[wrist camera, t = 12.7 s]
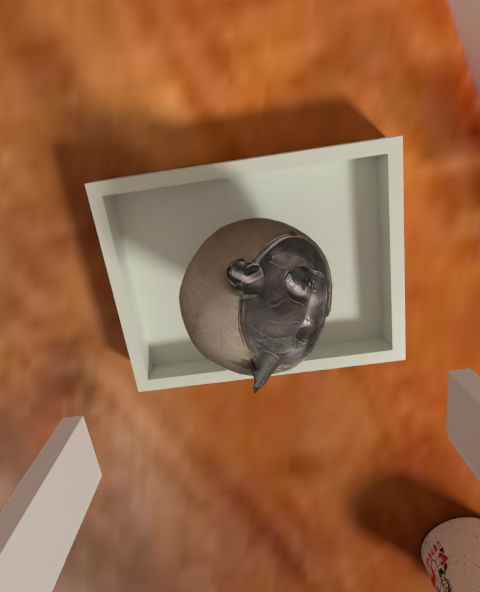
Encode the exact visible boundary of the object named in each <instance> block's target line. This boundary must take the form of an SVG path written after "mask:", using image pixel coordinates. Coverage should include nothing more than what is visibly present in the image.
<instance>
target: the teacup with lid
mask: <svg viewBox="0 0 480 592" xmlns="http://www.w3.org/2000/svg"><path fill="white" fill-rule="evenodd" d="M421 556H422V560H423V562H424V565H425V567H426V569H427V572H428V574H429V576H430V579H431V581H432V583H433V586H434V588H435V590H436V592H480V519H479V518H474V517H461V518H455V519H451V520H448V521H446V522H444V523H441V524H440V525H438V526H437V527H435V528H434V529H433V530H432V531H430V532H429V534H428V535H427V536H426V538H425V539H424V542H423V544H422V548H421Z"/></svg>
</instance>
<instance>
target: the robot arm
mask: <svg viewBox="0 0 480 592" xmlns="http://www.w3.org/2000/svg"><path fill="white" fill-rule="evenodd" d="M447 437H448V439H449V440H450V441H451V443H452V444H453V446H454V447H455V448H456V450H457V451H458V453H459V454H460V455H461V457H462V458H463V460H464V461H465V462H466V464H467V465H468V467H469V468H470V469H471V471H472V472H473V474H474V475H475V476H476V478H477V479H478V481H479V482H480V377H479V376H478V375H477V374H476V373H475V372H474V371H473V370H472V369H471V368H468V369H460V370H452V371H448V401H447ZM101 477H102V474H101V471H100V468H99V465H98V461H97V458H96V455H95V452H94V449H93V446H92V442H91V439H90V436H89V433H88V430H87V427H86V423H85V420H84V417H83V416H75V417H67V418H62V420H61V421H60V423H59V424H58V426H57V427H56V429H55V430H54V432H53V433H52V435H51V436H50V438H49V439H48V441H47V442H46V444H45V445H44V447H43V448H42V450H41V451H40V453H39V454H38V456H37V457H36V459H35V460H34V462H33V463H32V465H31V466H30V468H29V469H28V471H27V472H26V474H25V475H24V477H23V478H22V480H21V481H20V483H19V484H18V486H17V487H16V489H15V490H14V492H13V493H12V495H11V496H10V498H9V499H8V501H7V502H6V504H5V505H4V507H3V508H2V510H1V511H0V592H52V591H53V588H54V586H55V584H56V581H57V579H58V577H59V574H60V572H61V570H62V567H63V565H64V563H65V560H66V558H67V556H68V553H69V551H70V549H71V546H72V544H73V542H74V539H75V537H76V535H77V532H78V530H79V528H80V525H81V523H82V521H83V518H84V516H85V514H86V511H87V509H88V507H89V504H90V502H91V500H92V497H93V495H94V493H95V491H96V488H97V486H98V484H99V481H100V479H101Z"/></svg>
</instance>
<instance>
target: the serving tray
mask: <svg viewBox="0 0 480 592" xmlns="http://www.w3.org/2000/svg"><path fill="white" fill-rule="evenodd" d="M85 188H86V192H87V195H88V199H89V203H90V207H91V211H92V215H93V218H94V222H95V226H96V230H97V234H98V238H99V242H100V245H101V249H102V253H103V257H104V261H105V265H106V268H107V272H108V276H109V280H110V284H111V288H112V291H113V295H114V299H115V303H116V307H117V311H118V315H119V318H120V322H121V326H122V330H123V334H124V338H125V341H126V345H127V349H128V353H129V357H130V361H131V364H132V368H133V372H134V376H135V380H136V384H137V388H138V391H139V392H142V391H150V390H159V389H167V388H175V387H183V386H192V385H200V384H208V383H216V382H225V381H233V380H241V379H250V378H254V377H253V376H249V375H243V374H238V373H236V372H233V371H230V370H228V369H226V368H224V367H222V366H220V365H218V364H216V363H214V362H213V361H211V360H209V359H208V358H206V357H205V356H203V355H202V354H201V353H200V352H199V351H198V350H197V348H196V347H195V345H194V344H193V343H192V341H191V339H190V337H189V335H188V333H187V331H186V328H185V325H184V322H183V319H182V315H181V310H180V303H179V293H180V287H181V284H182V280H183V277H184V274H185V272H186V269H187V267H188V265H189V263H190V261H191V260H192V258H193V256H194V255H195V253H196V252H197V251H198V249H199V248H200V246H201V245H202V244H203V243H204V241H205V240H206V239H207V238H208V237H209V236H211V235H212V234H213V233H214V232H215V231H217V230H218V229H219V228H221V227H223V226H226V225H228V224H231V223H233V222H236V221H240V220H244V219H250V218H267V219H272V220H276V221H280V222H283V223H286V224H288V225H290V226H292V227H294V228H296V229H298V230H300V231H301V232H303V233H305V234H306V235H307V236H309V237H310V238H311V239H312V240H313V241H314V242H315V243H316V244H317V245H318V246H319V247H320V248H321V250H322V251H323V253H324V255H325V256H326V259H327V261H328V264H329V268H330V272H331V278H332V304H331V311H330V315H329V316H327V317H326V321H325V326H324V329H323V331H322V333H321V335H320V337H319V339H318V341H317V343H316V345H315V347H314V348H313V350H312V352H311V353H310V354H309V356H308V357H307V358H306V359H305V360H304V361H302V362H301V363H300V364H299V365H297V366H296V367H294V368H292V369H290V370H287V371H284V372H280V373H275V374H271V376H274V375H283V374H291V373H299V372H307V371H316V370H324V369H332V368H340V367H349V366H357V365H365V364H374V363H382V362H390V361H398V360H405V281H404V203H403V136H392V137H382V138H375V139H369V140H362V141H355V142H349V143H342V144H336V145H329V146H322V147H316V148H309V149H303V150H296V151H289V152H283V153H276V154H269V155H263V156H256V157H250V158H243V159H236V160H230V161H223V162H217V163H210V164H203V165H197V166H190V167H184V168H177V169H170V170H164V171H157V172H150V173H144V174H137V175H131V176H124V177H117V178H111V179H104V180H99V181H94V182H90V183H86V184H85Z"/></svg>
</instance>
